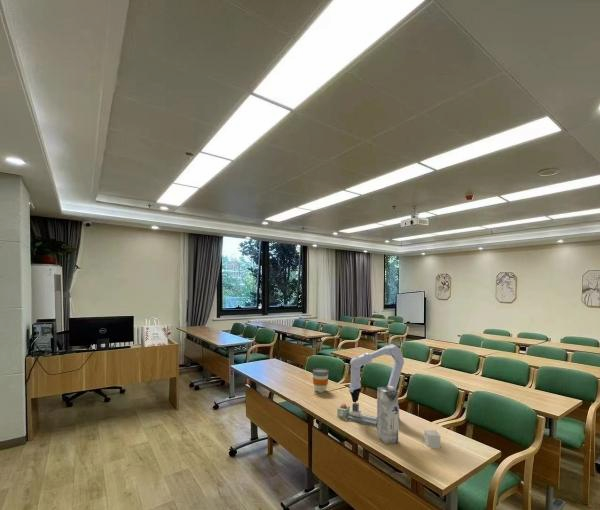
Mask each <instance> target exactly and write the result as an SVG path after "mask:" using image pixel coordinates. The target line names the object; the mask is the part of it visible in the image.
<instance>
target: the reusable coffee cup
mask: <svg viewBox="0 0 600 510" xmlns="http://www.w3.org/2000/svg"><path fill="white" fill-rule="evenodd" d="M329 373H330V372H329V369H327V368H314V369H312V383H313V387H314V388H313V389H314V392H316V391H318V392H317V393H324V392H323V391H325V392H326V391H327V385H329V384H328V383H329Z"/></svg>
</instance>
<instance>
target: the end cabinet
mask: <svg viewBox="0 0 600 510" xmlns="http://www.w3.org/2000/svg"><path fill="white" fill-rule="evenodd" d="M350 408H351V406H350V405H347V404H346V409H344V408H341V405H340V406H338V408H337V413H336V415H337V418H340V417H342V418H341V419H344V418H345V417H346V416H347V415H348V414H349V412H351V409H350Z"/></svg>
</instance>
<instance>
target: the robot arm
mask: <svg viewBox="0 0 600 510" xmlns="http://www.w3.org/2000/svg"><path fill="white" fill-rule="evenodd" d="M384 355H386V356H391V357H392V359H393V361H394V363H393V366H392V369H391V373H390V376H389V379H388V380H389V381H388V383H387V386H386V387H388V386H392V387H394V390H395V391H397V388H398V387H397V386H398V383H399V380H400V378H401V377H400V376H401V374H402V370H403V366H404V363H405V361H404V356H403V351H402V349H401V348H400V347H399V346H397V345H395V344H393V343H391V344H387V345H384V346H383V347H381V348H379V349H377V350H375V351H372V352H371V353H368V352H364V353H363V354H360V355H359V356H358V355H357V356H356V357H352V358H351V360H350V361H349V365H350V384H348V387H349V390H348V391H349V393H350V396H351V399H352V400H351V401H352V403H358V401H359V399H360V398H359V397H360V393H361V391H362V388H361V385H362V383H361V368H362V366H364V365H368V364H369V363H371V362H372V361H373V359H376V358H378V357H381V356H384ZM399 420H400V406H399V405H398V421H399Z"/></svg>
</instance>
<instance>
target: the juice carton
mask: <svg viewBox="0 0 600 510" xmlns="http://www.w3.org/2000/svg"><path fill="white" fill-rule="evenodd" d="M387 386H388V385H387ZM387 386H381V387H380V386H377V388H376V391H377V393H376V394H377V395H376V396H377V397H376V403H377V405H376V408H377V409H376V410H377V411H376V413H377V414H376V417H377V426H376V429H377V437H378V438H379V439H380V440H381V441H382V442H383V443H384V444H385V445H391V444H398V443H399V420H398V406H399V391H397V390H396V391H395V390H394V387H392V386H388V387H387Z"/></svg>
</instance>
